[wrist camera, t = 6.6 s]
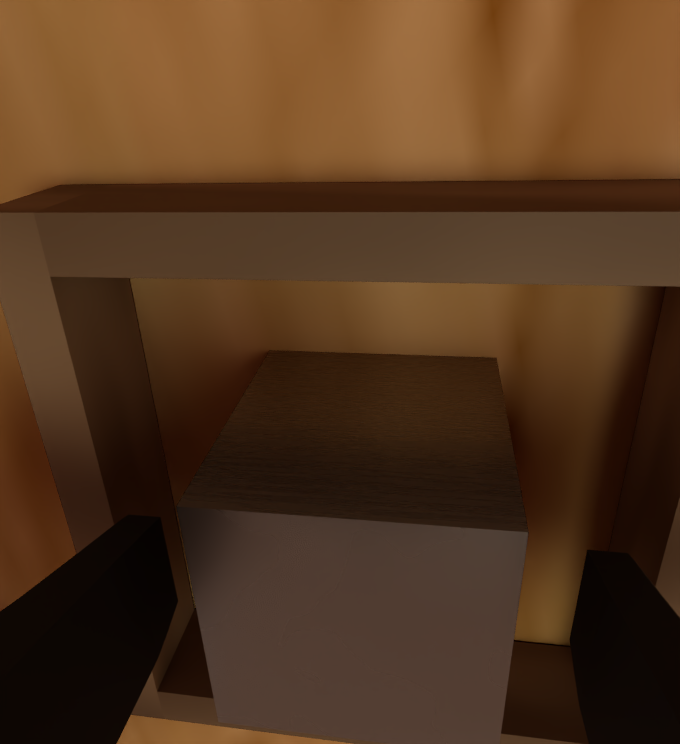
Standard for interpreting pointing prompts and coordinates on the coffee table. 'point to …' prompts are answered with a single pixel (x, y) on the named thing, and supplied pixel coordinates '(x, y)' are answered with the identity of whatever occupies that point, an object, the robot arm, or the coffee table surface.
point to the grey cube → (361, 549)
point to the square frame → (320, 263)
